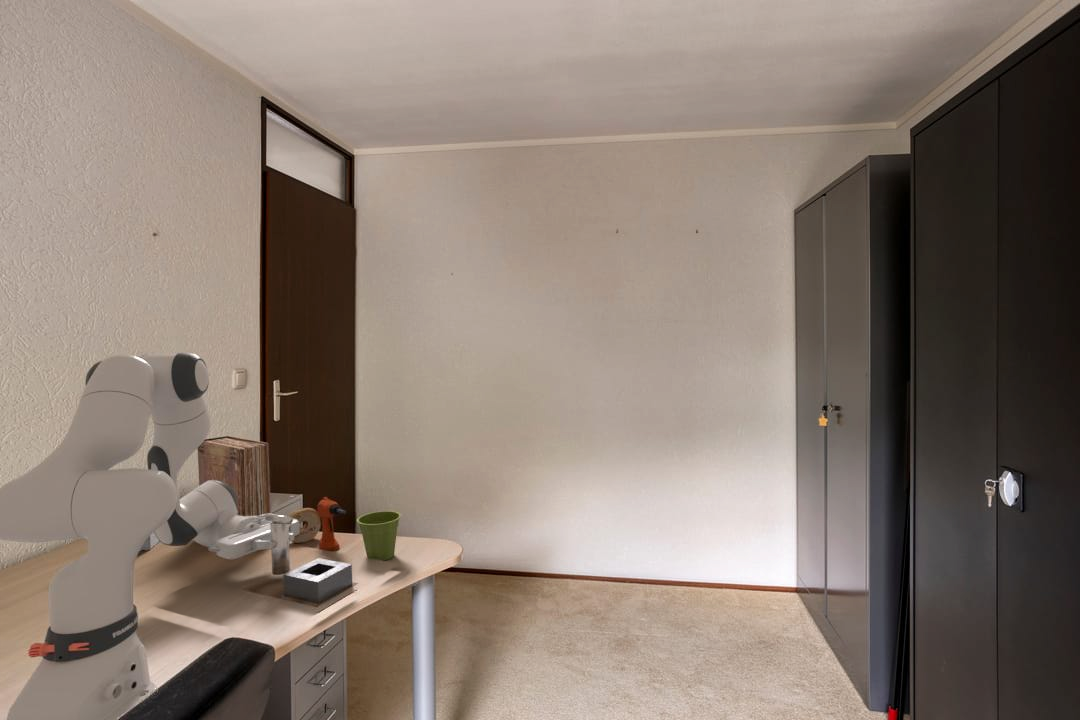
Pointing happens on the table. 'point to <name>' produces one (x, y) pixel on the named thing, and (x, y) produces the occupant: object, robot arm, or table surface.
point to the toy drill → (328, 523)
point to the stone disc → (311, 524)
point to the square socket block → (317, 580)
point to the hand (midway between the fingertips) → (282, 541)
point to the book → (238, 471)
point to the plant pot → (379, 533)
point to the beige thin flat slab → (276, 589)
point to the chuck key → (280, 543)
